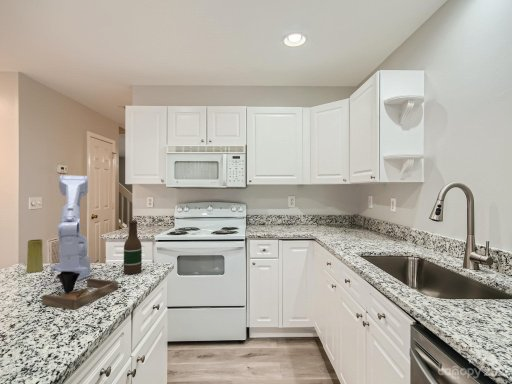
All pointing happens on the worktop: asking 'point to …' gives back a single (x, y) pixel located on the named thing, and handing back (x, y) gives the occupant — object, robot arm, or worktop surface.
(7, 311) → the worktop surface
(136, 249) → the beer bottle
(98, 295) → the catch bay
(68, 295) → the shard
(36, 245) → the olive green rod
